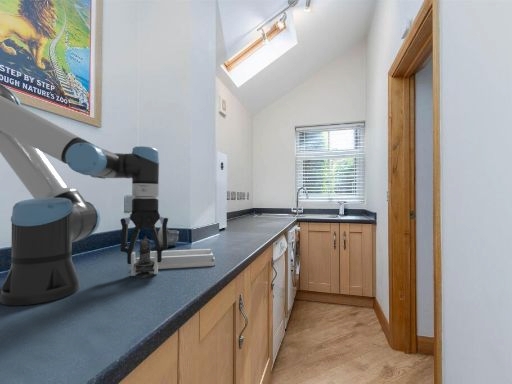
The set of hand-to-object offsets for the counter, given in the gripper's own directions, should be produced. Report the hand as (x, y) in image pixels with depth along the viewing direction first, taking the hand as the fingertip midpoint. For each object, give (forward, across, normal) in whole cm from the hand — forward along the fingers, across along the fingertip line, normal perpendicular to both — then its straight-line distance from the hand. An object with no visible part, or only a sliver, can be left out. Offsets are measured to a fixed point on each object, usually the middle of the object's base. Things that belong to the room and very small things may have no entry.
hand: (144, 273), depth 83 cm
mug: (+1, +4, +45) cm, 45 cm away
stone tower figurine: (+1, 0, 0) cm, 1 cm away
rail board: (0, +9, +12) cm, 15 cm away
